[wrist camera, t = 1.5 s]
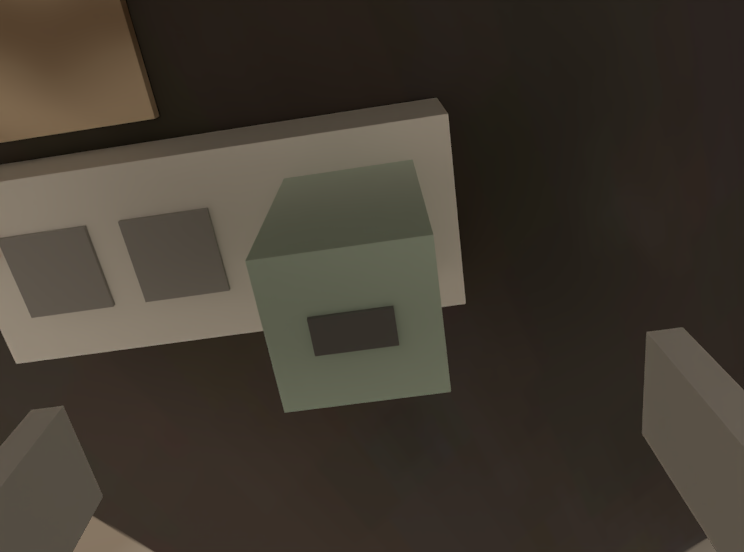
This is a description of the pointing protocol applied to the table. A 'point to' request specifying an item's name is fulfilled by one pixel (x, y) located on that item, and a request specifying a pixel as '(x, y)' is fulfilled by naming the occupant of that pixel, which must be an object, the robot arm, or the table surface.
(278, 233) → the block
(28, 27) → the cork coaster
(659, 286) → the table surface
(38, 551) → the robot arm
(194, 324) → the power strip
